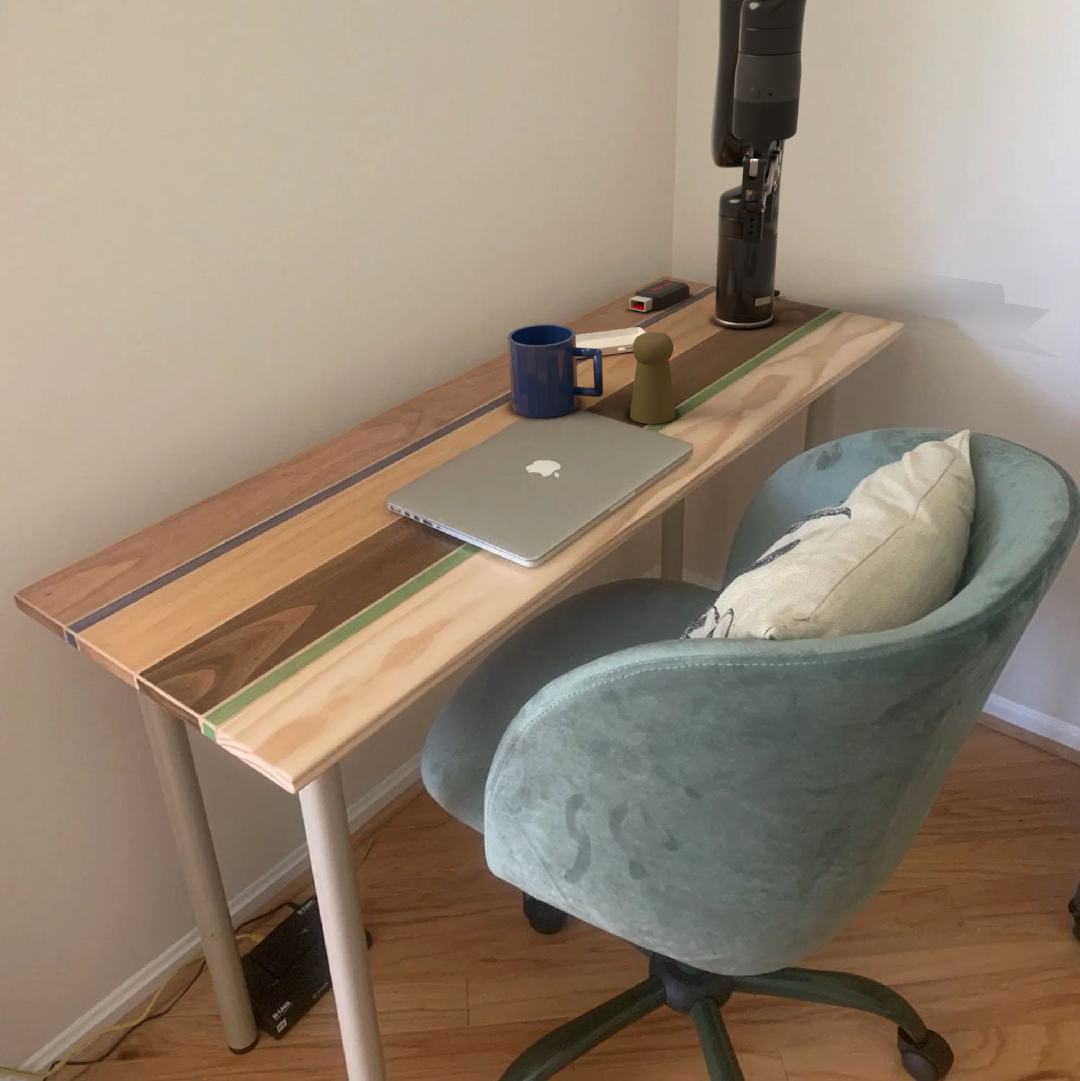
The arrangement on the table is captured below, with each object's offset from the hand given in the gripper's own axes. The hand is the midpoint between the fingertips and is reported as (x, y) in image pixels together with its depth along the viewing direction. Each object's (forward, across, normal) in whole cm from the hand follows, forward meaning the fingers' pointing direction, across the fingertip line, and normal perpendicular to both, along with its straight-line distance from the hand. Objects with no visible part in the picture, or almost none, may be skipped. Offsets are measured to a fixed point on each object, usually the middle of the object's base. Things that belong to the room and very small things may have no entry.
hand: (757, 232), depth 129 cm
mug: (+22, -9, +24) cm, 34 cm away
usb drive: (+25, +39, +22) cm, 51 cm away
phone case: (+24, +15, +25) cm, 38 cm away
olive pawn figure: (+22, -9, +11) cm, 26 cm away
